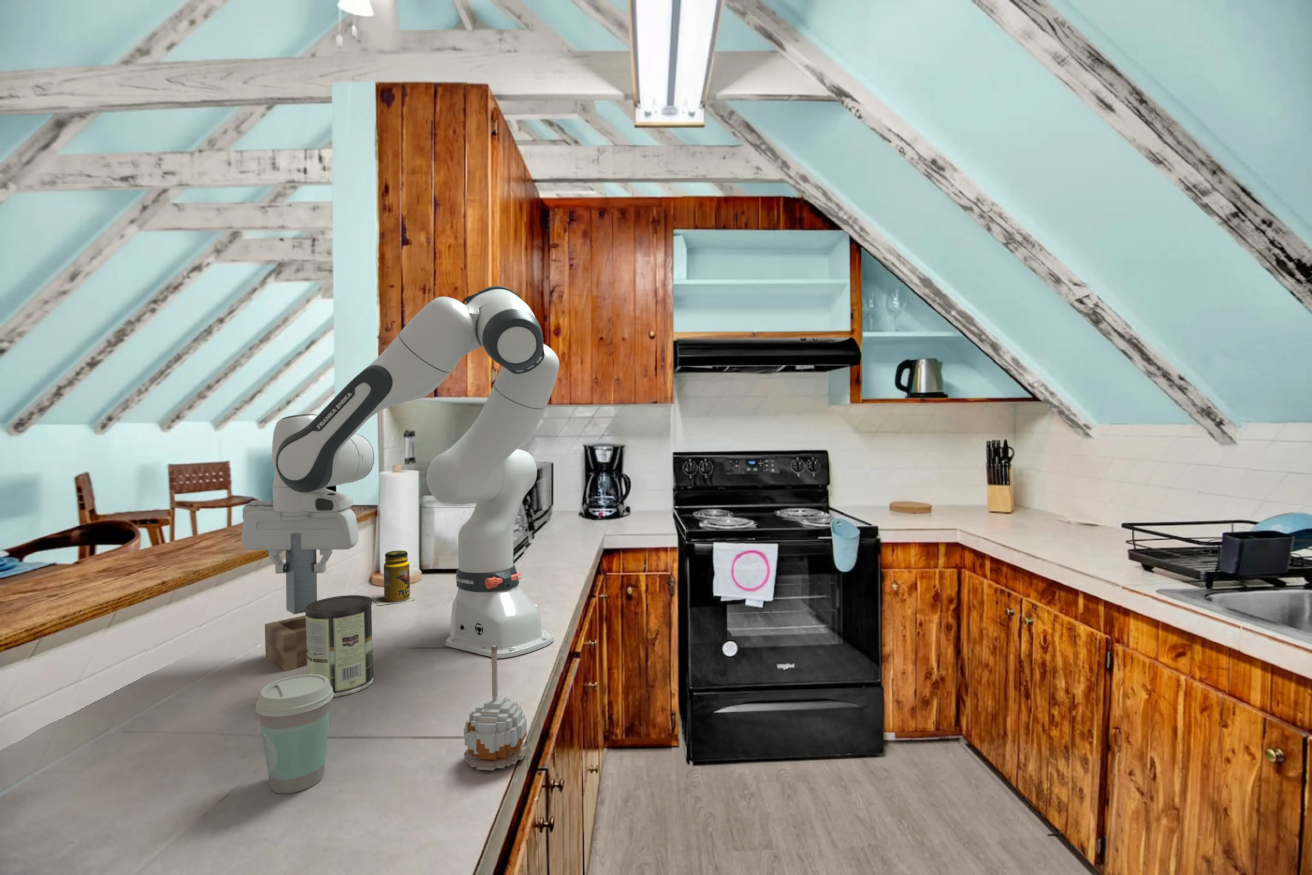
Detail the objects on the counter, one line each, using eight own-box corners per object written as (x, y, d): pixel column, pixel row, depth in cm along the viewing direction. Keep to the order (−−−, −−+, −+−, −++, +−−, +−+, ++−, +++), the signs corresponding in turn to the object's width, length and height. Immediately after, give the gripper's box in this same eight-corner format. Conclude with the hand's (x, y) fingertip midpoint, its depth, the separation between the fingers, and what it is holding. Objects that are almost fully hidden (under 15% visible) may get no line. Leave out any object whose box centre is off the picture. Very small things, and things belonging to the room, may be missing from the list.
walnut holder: (342, 655, 124) (341, 621, 124) (284, 671, 116) (284, 635, 116) (320, 643, 130) (320, 611, 130) (265, 657, 123) (264, 623, 123)
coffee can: (340, 670, 117) (339, 592, 116) (387, 677, 113) (385, 597, 113) (291, 693, 107) (289, 608, 106) (340, 701, 103) (338, 614, 103)
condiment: (414, 600, 162) (413, 552, 161) (378, 606, 157) (377, 557, 157) (407, 594, 168) (406, 548, 167) (372, 599, 163) (371, 552, 163)
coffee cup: (278, 764, 85) (276, 673, 84) (346, 760, 85) (344, 670, 85) (242, 802, 76) (239, 702, 76) (318, 798, 77) (315, 698, 77)
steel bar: (317, 609, 123) (316, 531, 123) (294, 614, 120) (293, 534, 120) (308, 605, 126) (307, 528, 125) (286, 609, 123) (285, 531, 122)
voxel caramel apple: (478, 742, 90) (476, 635, 90) (533, 744, 89) (531, 636, 89) (455, 772, 82) (453, 655, 82) (515, 775, 82) (513, 657, 81)
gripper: (232, 502, 119) (234, 577, 119) (347, 502, 120) (348, 576, 120) (252, 498, 125) (253, 569, 125) (361, 497, 126) (361, 568, 127)
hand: (301, 572), depth 123 cm, fingers closed on steel bar, 6 cm apart
